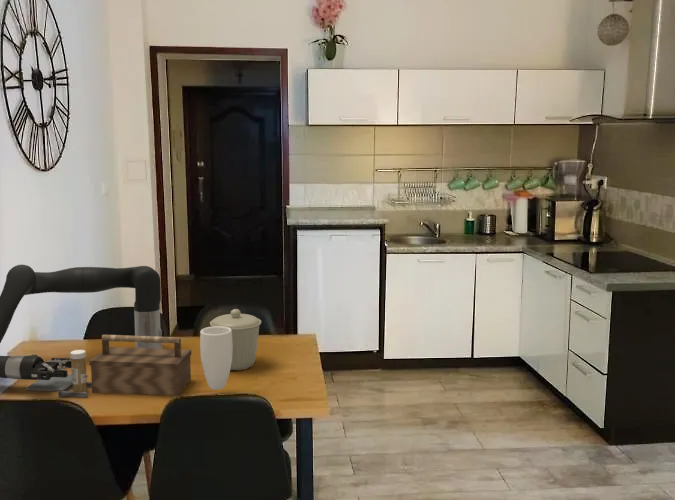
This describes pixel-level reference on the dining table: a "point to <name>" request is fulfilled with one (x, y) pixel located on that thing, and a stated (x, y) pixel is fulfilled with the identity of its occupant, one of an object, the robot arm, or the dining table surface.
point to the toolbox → (137, 368)
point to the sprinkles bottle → (78, 370)
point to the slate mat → (51, 384)
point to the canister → (241, 337)
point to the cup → (216, 355)
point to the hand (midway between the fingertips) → (73, 369)
